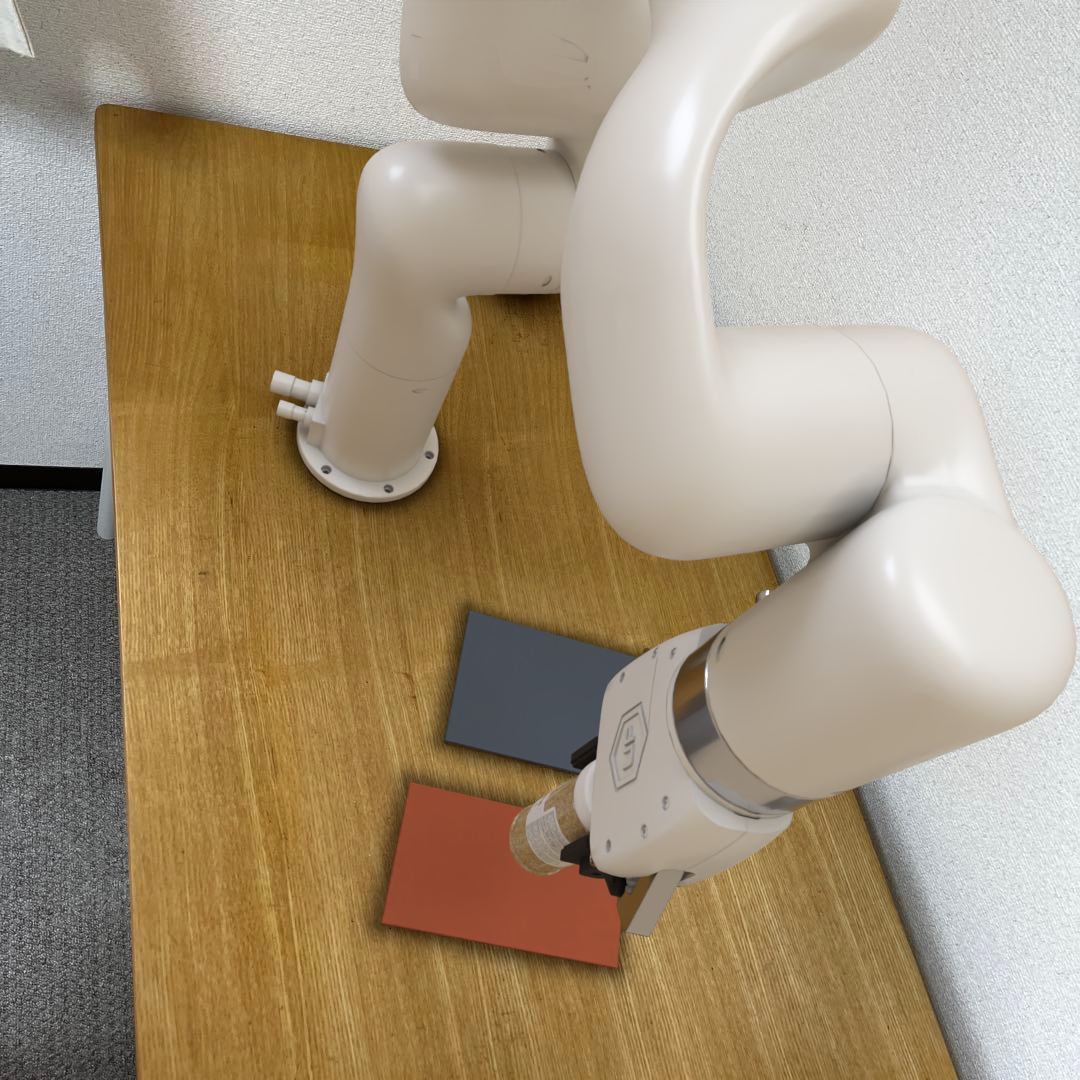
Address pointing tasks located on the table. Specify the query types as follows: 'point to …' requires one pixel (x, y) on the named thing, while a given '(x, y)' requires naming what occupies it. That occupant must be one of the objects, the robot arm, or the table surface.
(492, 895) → the front mat
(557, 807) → the sprinkles bottle
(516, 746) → the back mat
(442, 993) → the table surface
